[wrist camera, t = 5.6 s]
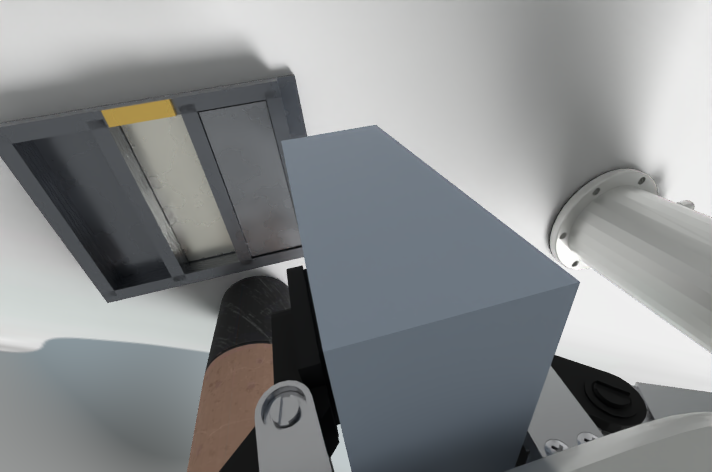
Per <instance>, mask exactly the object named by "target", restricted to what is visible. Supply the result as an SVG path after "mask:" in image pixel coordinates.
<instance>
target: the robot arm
mask: <svg viewBox="0 0 712 472" xmlns="http://www.w3.org/2000/svg"><path fill="white" fill-rule="evenodd" d="M550 248H551V252H552V254H553V256H554V258H555V259H556V260H557V261H558V262H560V263H561V264H563V265H564V266H565V267H567V268H570V269H576V270H583V269H590V268H592V269H593V270H594V271H596V272H597V273H599V274H600V275H601V276H603V277H604V278H606V279H607V280H608V281H610V282H611V283H613V284H614V285H615V286H617V287H618V288H620V289H621V290H622V291H624V292H625V293H627V294H628V295H629V296H631V297H632V298H634V299H635V300H637V301H638V302H639V303H641V304H642V305H644V306H645V307H646V308H648V309H649V310H651V311H652V312H653V313H655V314H656V315H658V316H659V317H660V318H662V319H663V320H665V321H666V322H667V323H669V324H670V325H672V326H673V327H674V328H676V329H677V330H679V331H680V332H682V333H683V334H684V335H686V336H687V337H689V338H690V339H691V340H693V341H694V342H696V343H697V344H698V345H700V346H701V347H703V348H704V349H705V350H707V351H708V352H710V353H711V354H712V217H710V216H707V215H705V214H702V213H700V212H697V211H695V210H694V204H693V202H691V201H688V200H685V201H681V202H677V203H675V202H672V201H670V200H667V199H665V198H662V197H660V196H658V192H657V186H656V184H655V182H654V180H653V179H652V178H651V177H650V176H649V175H648V174H645V173H643V172H640V171H638V170H634V169H618V170H613V171H610V172H607V173H605V174H602V175H600V176H599V177H597V178H595V179H593V180H592V181H590V182H589V183H587V184H586V185H585V186H583V187H582V188H581V189H579V190H578V191H577V192H576V193H575V194H574V195H573V196H572V197H571V198H570V200H569V201H568V202H567V203H566V204H565V206H564V207H563V208H562V210H561V212H560V213H559V215H558V216H557V219H556V221H555V223H554V225H553V228H552V232H551V236H550ZM287 278H288V287H289V296H290V304H291V308H289V309H285V310H281V311H277V312H273V313H272V314H271V326H272V351H273V376H274V385H273V386H271V387H270V388H269V389H268V390H267V391H266V392H264V394H263V395H262V396H261V398H260V399H259V401H258V403H257V406H256V408H255V427H254V428H253V429H252V430H251V432H250V433H249V434H248V435H247V437H246V438H245V439H244V440H243V442H242V443H241V444H240V446H239V447H238V448H237V449H236V451H235V452H234V453H233V454H232V456H231V457H230V458H229V459H228V461H227V462H226V463H225V464H224V466H223V467H222V468H221V469H220V471H219V472H334V469H333V465H332V461H331V455H332V454H333V452H334V451H335V449H336V447H337V445H338V444H339V440H338V437H339V434H338V430H337V425H338V424H340V420H339V416H338V412H337V408H336V404H335V399H334V395H333V391H332V387H331V383H330V378H329V374H328V370H327V366H326V362H325V358H324V353H323V349H322V344H321V339H320V334H319V329H318V323H317V318H316V313H315V308H314V303H313V298H312V293H311V288H310V283H309V278H308V273H307V269H304V270H303V266H298V267H294V268H289V269H287ZM504 472H712V393H711V392H704V391H697V390H690V389H683V388H675V387H668V386H661V385H654V384H646V383H639V382H636V384H635V385H634V386H632V385H630V384H629V383H627V382H626V381H624V380H623V379H621V378H619V377H617V376H615V375H612V374H610V373H607V372H604V371H601V370H598V369H595V368H592V367H589V366H586V365H583V364H580V363H577V362H574V361H571V360H568V359H565V358H562V357H559V356H556V355H554V357H553V360H552V363H551V366H550V369H549V371H548V374H547V377H546V380H545V383H544V386H543V388H542V391H541V394H540V397H539V400H538V403H537V405H536V408H535V411H534V414H533V417H532V420H531V422H530V425H529V428H528V431H527V434H526V437H525V439H524V442H523V445H522V448H521V451H520V454H519V456H518V459H517V462H516V465H515V468H513V469H510V470H507V471H504Z"/></svg>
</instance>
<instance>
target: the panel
mask: <svg viewBox="0 0 712 472" xmlns="http://www.w3.org/2000/svg"><path fill="white" fill-rule="evenodd" d="M281 143H282V148H283V153H284V158H285V163H286V168H287V173H288V178H289V183H290V188H291V193H292V198H293V203H294V208H295V213H296V218H297V223H298V228H299V233H300V238H301V243H302V248H303V253H304V258H305V263H306V268H307V273H308V278H309V283H310V288H311V293H312V298H313V303H314V308H315V313H316V318H317V323H318V329H319V334H320V339H321V344H322V349H323V353H324V358H325V362H326V366H327V370H328V374H329V378H330V383H331V387H332V391H333V395H334V399H335V404H336V408H337V412H338V416H339V420H340V424H341V428H342V433H343V437H344V441H345V445H346V449H347V453H348V458H349V462H350V466H351V471H352V472H504V471H507V470H510V469H513V468H515V465H516V462H517V459H518V456H519V454H520V451H521V448H522V445H523V442H524V439H525V437H526V434H527V431H528V428H529V425H530V422H531V420H532V417H533V414H534V411H535V408H536V405H537V403H538V400H539V397H540V394H541V391H542V388H543V386H544V383H545V380H546V377H547V374H548V371H549V369H550V366H551V363H552V360H553V357H554V354H555V352H556V349H557V346H558V343H559V340H560V337H561V335H562V332H563V329H564V326H565V323H566V320H567V318H568V315H569V312H570V309H571V306H572V303H573V301H574V298H575V295H576V292H577V289H578V286H579V283H580V282H579V281H578V280H577V279H575V278H574V277H573V276H572V275H570V274H569V273H568V272H566V271H565V270H564V269H562V268H561V267H560V266H559V265H557V264H556V263H555V262H553V261H552V260H551V259H549V258H548V257H547V256H546V255H544V254H543V253H542V252H540V251H539V250H538V249H536V248H535V247H534V246H533V245H531V244H530V243H529V242H527V241H526V240H525V239H523V238H522V237H521V236H520V235H518V234H517V233H516V232H514V231H513V230H512V229H510V228H509V227H508V226H507V225H505V224H504V223H503V222H501V221H500V220H499V219H497V218H496V217H495V216H494V215H492V214H491V213H490V212H488V211H487V210H486V209H484V208H483V207H482V206H481V205H479V204H478V203H477V202H475V201H474V200H473V199H471V198H470V197H469V196H468V195H466V194H465V193H464V192H462V191H461V190H460V189H458V188H457V187H456V186H455V185H453V184H452V183H451V182H449V181H448V180H447V179H445V178H444V177H443V176H442V175H440V174H439V173H438V172H436V171H435V170H434V169H432V168H431V167H430V166H429V165H427V164H426V163H425V162H423V161H422V160H421V159H419V158H418V157H417V156H416V155H414V154H413V153H412V152H410V151H409V150H408V149H406V148H405V147H404V146H403V145H401V144H400V143H399V142H397V141H396V140H395V139H393V138H392V137H391V136H390V135H388V134H387V133H386V132H384V131H383V130H382V129H380V128H379V127H378V126H377V125H373V126H367V127H361V128H355V129H349V130H343V131H337V132H331V133H325V134H320V135H314V136H308V137H302V138H296V139H290V140H284V141H281Z"/></svg>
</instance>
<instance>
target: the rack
mask: <svg viewBox="0 0 712 472" xmlns="http://www.w3.org/2000/svg"><path fill="white" fill-rule="evenodd" d="M302 137H307V134H306V129H305V124H304V119H303V114H302V109H301V105H300V100H299V95H298V90H297V85H296V80H295V76H294V74H293V75H287V76H281V77H275V78H269V79H263V80H257V81H251V82H245V83H239V84H233V85H227V86H221V87H215V88H209V89H203V90H197V91H191V92H184V93H178V94H172V95H166V96H160V97H154V98H148V99H142V100H136V101H130V102H124V103H118V104H112V105H106V106H100V107H94V108H88V109H82V110H76V111H70V112H64V113H58V114H52V115H46V116H40V117H34V118H28V119H22V120H16V121H10V122H4V123H0V156H1V158H2V159H3V160H4V162H5V163H6V165H7V166H8V167H9V169H10V170H11V171H12V173H13V174H14V176H15V177H16V178H17V180H18V181H19V182H20V184H21V185H22V186H23V188H24V189H25V191H26V192H27V193H28V195H29V196H30V197H31V199H32V200H33V202H34V203H35V204H36V206H37V207H38V208H39V210H40V211H41V212H42V214H43V215H44V217H45V218H46V219H47V221H48V222H49V223H50V225H51V226H52V228H53V229H54V230H55V232H56V233H57V234H58V236H59V237H60V238H61V240H62V241H63V243H64V244H65V245H66V247H67V248H68V249H69V251H70V252H71V253H72V255H73V256H74V258H75V259H76V260H77V262H78V263H79V264H80V266H81V267H82V269H83V270H84V271H85V273H86V274H87V275H88V277H89V278H90V279H91V281H92V282H93V284H94V285H95V286H96V288H97V289H98V290H99V292H100V293H101V295H102V296H103V297H104V299H105V300H106V301H107V303H109V302H114V301H118V300H122V299H126V298H131V297H135V296H139V295H143V294H148V293H152V292H156V291H160V290H165V289H169V288H173V287H177V286H182V285H186V284H190V283H194V282H199V281H203V280H207V279H212V278H216V277H220V276H224V275H229V274H233V273H237V272H241V271H246V270H250V269H254V268H258V267H263V266H267V265H271V264H275V263H280V262H284V261H288V260H292V259H297V258H301V257H304V253H303V248H302V243H301V238H300V233H299V228H298V223H297V218H296V213H295V208H294V203H293V198H292V193H291V188H290V183H289V178H288V173H287V168H286V163H285V158H284V153H283V148H282V143H281V141H284V140H290V139H296V138H302Z"/></svg>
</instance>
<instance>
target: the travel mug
mask: <svg viewBox="0 0 712 472" xmlns="http://www.w3.org/2000/svg"><path fill="white" fill-rule="evenodd" d="M289 308H291V304H290V296H289V288H288V287H287V286H286V285H285V284H284V283H282V282H281V281H279V280H277V279H274V278H270V277H263V276H257V277H250V278H246V279H243V280H240V281H239V282H237V283H235V284H234V285H232V286H231V287H230V288H229V289H228V290H227V292H226V293H225V295H224V297H223V299H222V303H221V307H220V311H219V315H218V319H217V324H216V328H215V332H214V336H213V341H212V345H211V349H210V354H209V359H208V363H207V367H206V371H205V376H204V380H203V386H202V391H201V397H200V403H199V408H198V414H197V419H196V425H195V430H194V436H193V441H192V447H191V453H190V458H189V464H188V469H187V472H219V471H220V469H221V468H222V467H223V466H224V464H225V463H226V462H227V461H228V459H229V458H230V457H231V456H232V454H233V453H234V452H235V451H236V449H237V448H238V447H239V446H240V444H241V443H242V442H243V440H244V439H245V438H246V437H247V435H248V434H249V433H250V432H251V430H252V429H253V428H254V427H255V408H256V406H257V403H258V401H259V399H260V398H261V396H262V395H263V394H264V392H266V391H267V390H268V389H269V388H270V387H271V386H273V385H274V376H273V351H272V326H271V314H272V313H273V312H277V311H281V310H285V309H289Z"/></svg>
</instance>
